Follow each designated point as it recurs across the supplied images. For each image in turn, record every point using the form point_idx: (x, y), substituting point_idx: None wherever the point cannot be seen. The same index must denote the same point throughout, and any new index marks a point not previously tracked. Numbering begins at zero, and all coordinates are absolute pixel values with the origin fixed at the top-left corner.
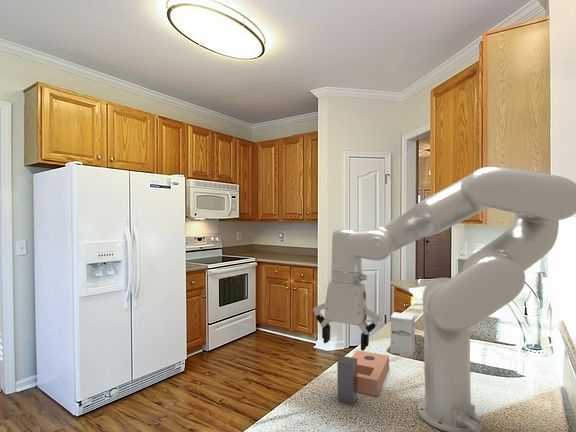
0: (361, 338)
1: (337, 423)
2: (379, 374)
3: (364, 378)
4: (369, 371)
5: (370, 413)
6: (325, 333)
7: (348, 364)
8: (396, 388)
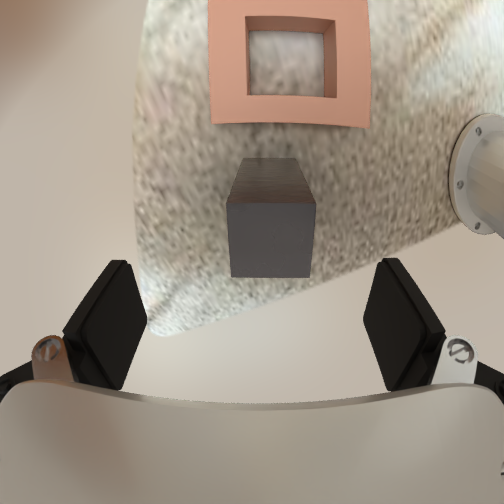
0: (384, 372)
1: (275, 288)
2: (368, 74)
3: (318, 123)
4: (310, 22)
5: (343, 222)
6: (126, 368)
7: (286, 274)
8: (396, 54)
